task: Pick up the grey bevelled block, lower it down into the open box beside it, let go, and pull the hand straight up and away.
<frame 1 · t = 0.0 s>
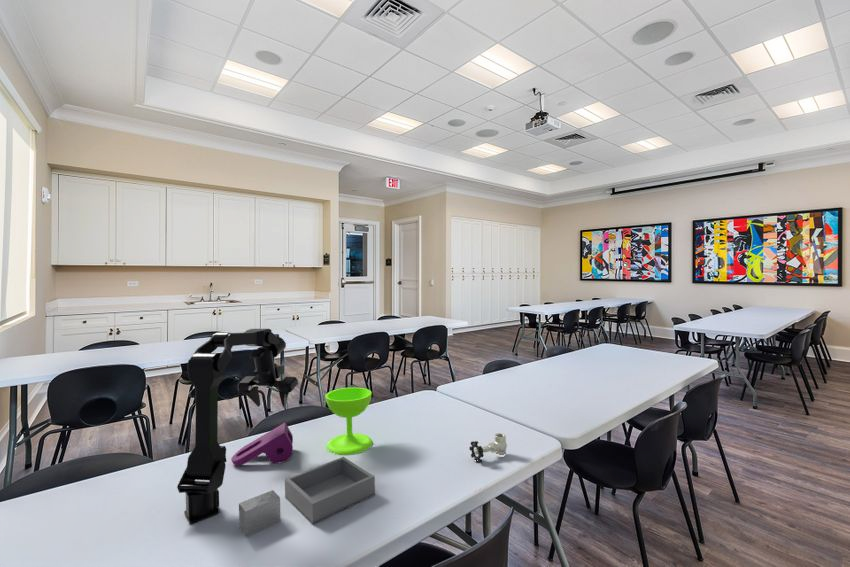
hand: (271, 406, 130), 15 cm above the table, tool pointing down, fingers open, 9 cm apart
mounting bracket: (263, 460, 125), on the table
grey bevelled block: (260, 525, 91), on the table
wineglass: (349, 445, 135), on the table
valve: (490, 458, 123), on the table
open box: (330, 496, 103), on the table
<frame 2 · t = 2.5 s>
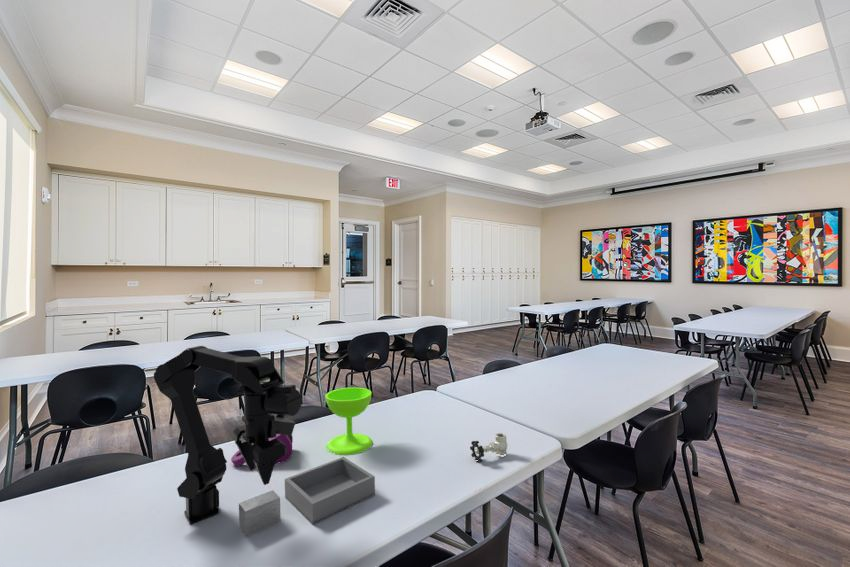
hand: (259, 476, 91), 12 cm above the table, tool pointing down, fingers open, 9 cm apart
nothing on the table moved.
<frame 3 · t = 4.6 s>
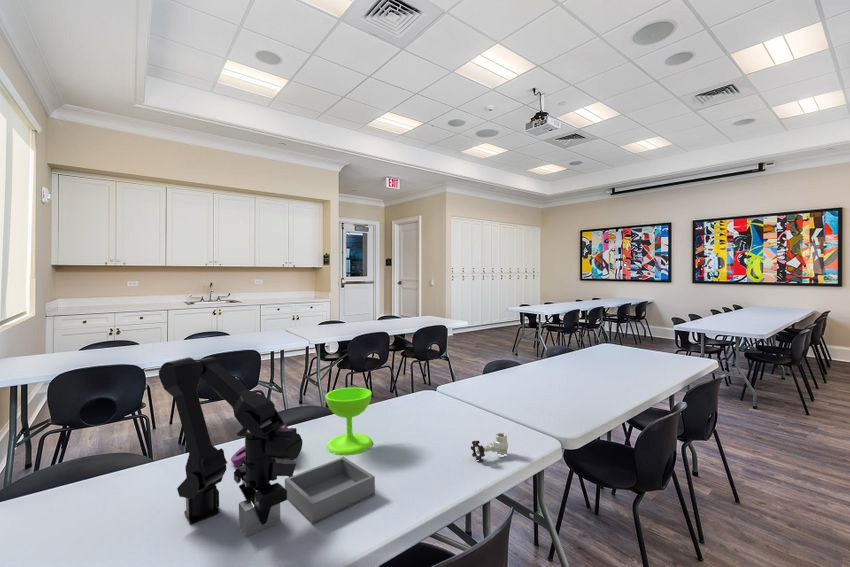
hand: (260, 519, 91), 1 cm above the table, tool pointing down, fingers closed on grey bevelled block, 4 cm apart
grey bevelled block: (260, 524, 91), on the table, touching gripper
everything else where it was.
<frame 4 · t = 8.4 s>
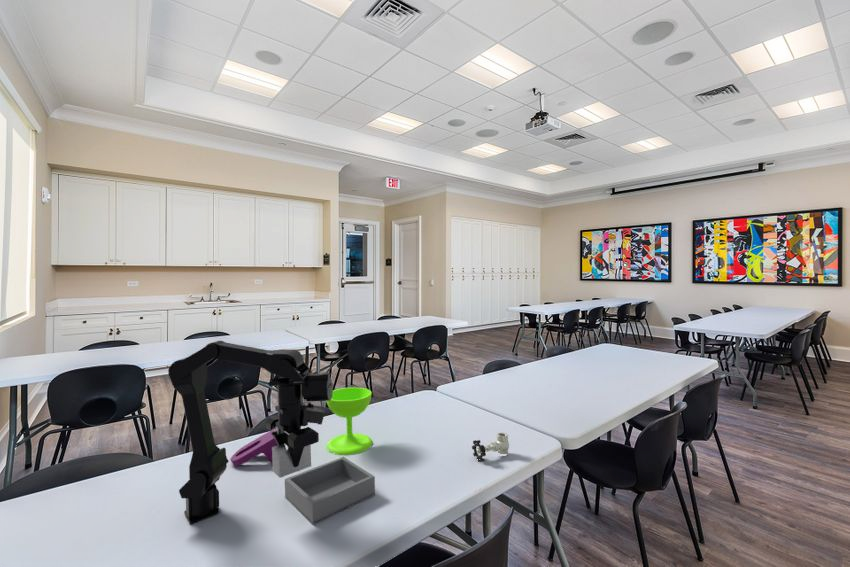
hand: (292, 463, 96), 12 cm above the table, tool pointing down, fingers closed on grey bevelled block, 4 cm apart
grey bevelled block: (292, 468, 96), point 11 cm above the table, touching gripper
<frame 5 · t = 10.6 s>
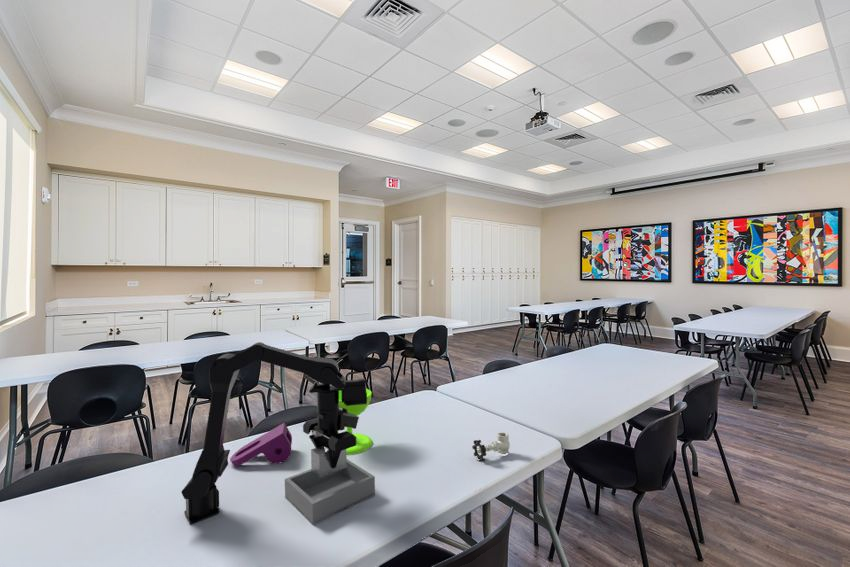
hand: (329, 464, 103), 8 cm above the table, tool pointing down, fingers closed on grey bevelled block, 4 cm apart
grey bevelled block: (329, 469, 103), point 7 cm above the table, touching gripper
when the fingers open (3 cm above the table, at t = 12.5 s): grey bevelled block drops 1 cm, resting on open box.
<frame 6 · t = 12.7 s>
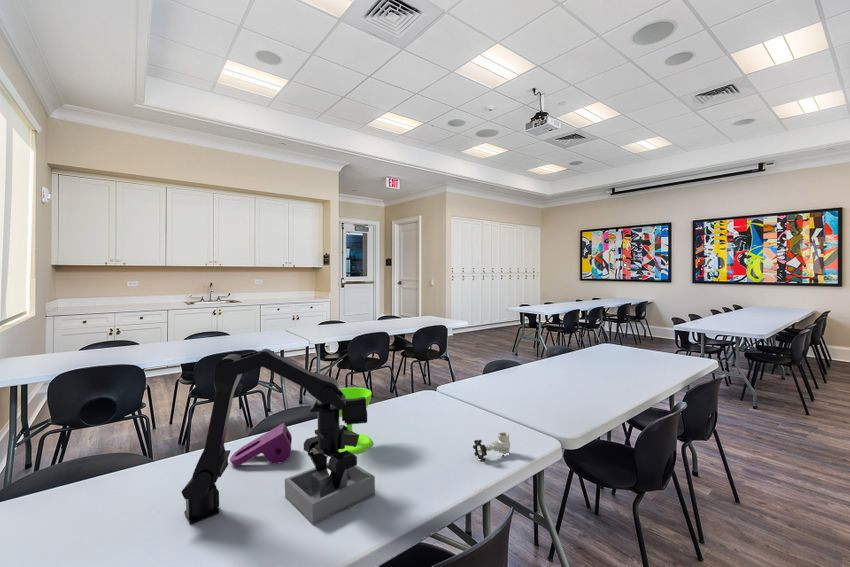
hand: (329, 483, 103), 3 cm above the table, tool pointing down, fingers open, 7 cm apart
grey bevelled block: (329, 493, 103), point 1 cm above the table, touching open box
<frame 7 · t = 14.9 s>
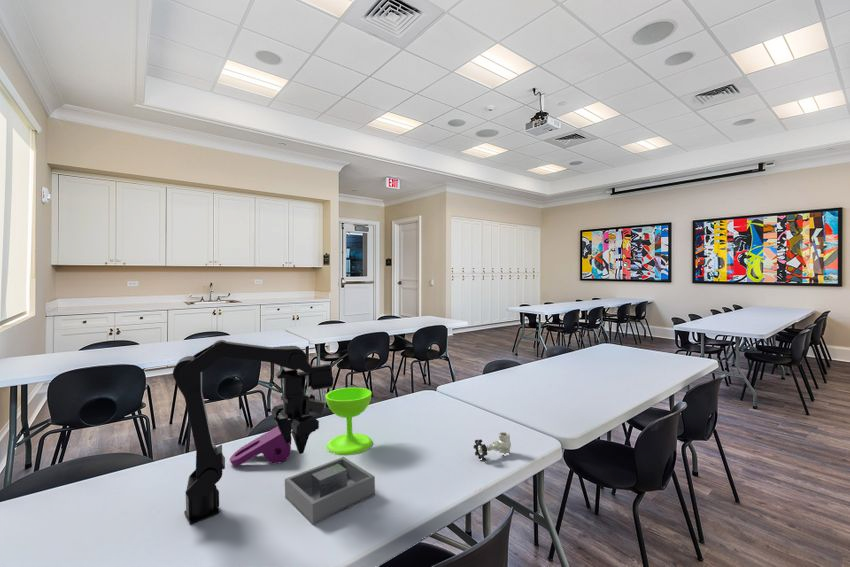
hand: (294, 448, 106), 12 cm above the table, tool pointing down, fingers open, 9 cm apart
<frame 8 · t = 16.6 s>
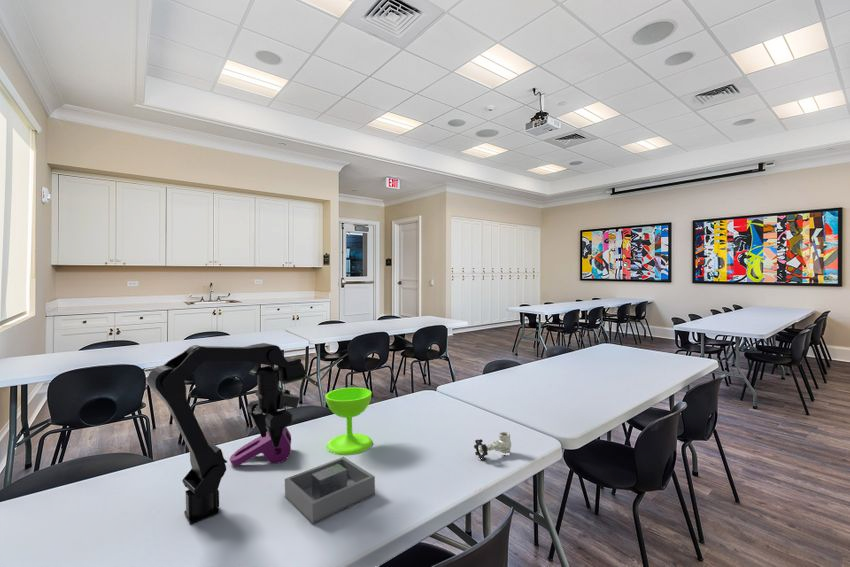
hand: (269, 441, 110), 12 cm above the table, tool pointing down, fingers open, 9 cm apart
at the end: grey bevelled block inside the target area on the open box (0.1 cm from its centre), point 0.6 cm above the open box's base; grey bevelled block tilted 0°; the gripper is holding nothing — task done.
